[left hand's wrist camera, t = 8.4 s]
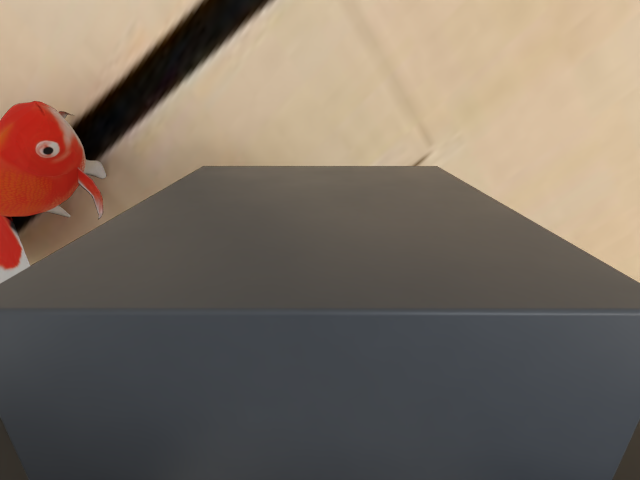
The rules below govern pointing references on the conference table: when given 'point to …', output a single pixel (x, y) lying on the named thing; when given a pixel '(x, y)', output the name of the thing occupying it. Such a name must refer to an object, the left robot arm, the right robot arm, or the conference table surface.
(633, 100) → the conference table surface
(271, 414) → the box
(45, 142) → the fish
